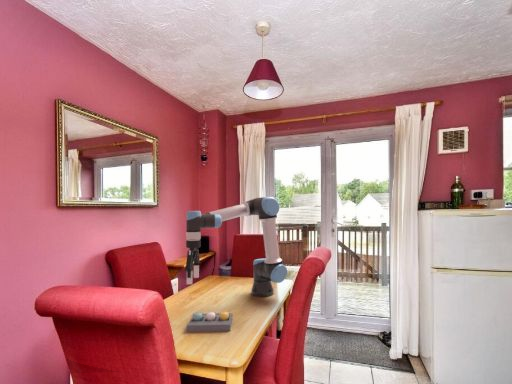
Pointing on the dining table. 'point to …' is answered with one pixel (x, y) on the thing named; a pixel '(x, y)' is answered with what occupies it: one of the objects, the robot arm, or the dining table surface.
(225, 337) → the dining table surface
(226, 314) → the button ochre
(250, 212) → the robot arm
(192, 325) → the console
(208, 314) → the button white
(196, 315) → the button teal
